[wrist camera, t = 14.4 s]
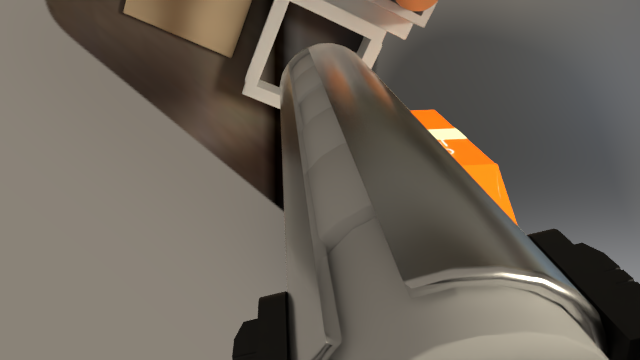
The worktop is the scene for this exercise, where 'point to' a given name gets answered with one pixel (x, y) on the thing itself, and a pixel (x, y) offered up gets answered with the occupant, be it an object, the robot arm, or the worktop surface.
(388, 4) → the housing
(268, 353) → the robot arm
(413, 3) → the plunger
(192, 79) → the worktop surface
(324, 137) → the silver metal cylinder
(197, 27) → the mat
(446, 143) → the orange juice
